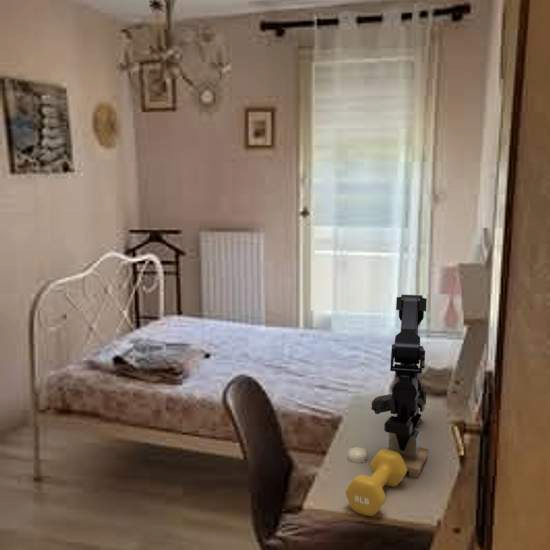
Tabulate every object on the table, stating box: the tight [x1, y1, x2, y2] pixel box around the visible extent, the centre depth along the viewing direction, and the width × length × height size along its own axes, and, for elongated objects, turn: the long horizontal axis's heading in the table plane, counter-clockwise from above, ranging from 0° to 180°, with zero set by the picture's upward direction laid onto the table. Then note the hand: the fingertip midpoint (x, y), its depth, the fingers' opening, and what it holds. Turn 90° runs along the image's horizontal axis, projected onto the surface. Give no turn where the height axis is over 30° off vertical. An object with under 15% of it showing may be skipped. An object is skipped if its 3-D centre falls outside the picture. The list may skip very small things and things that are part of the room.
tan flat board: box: [386, 446, 430, 479], centre depth 156 cm, size 12×10×2 cm
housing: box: [388, 429, 421, 456], centre depth 155 cm, size 7×5×5 cm, turn 64°
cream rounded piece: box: [347, 446, 368, 464], centre depth 160 cm, size 5×5×2 cm
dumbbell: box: [345, 448, 408, 517], centre depth 141 cm, size 19×9×8 cm, turn 149°
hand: (404, 446), depth 156 cm, fingers closed on housing, 5 cm apart
